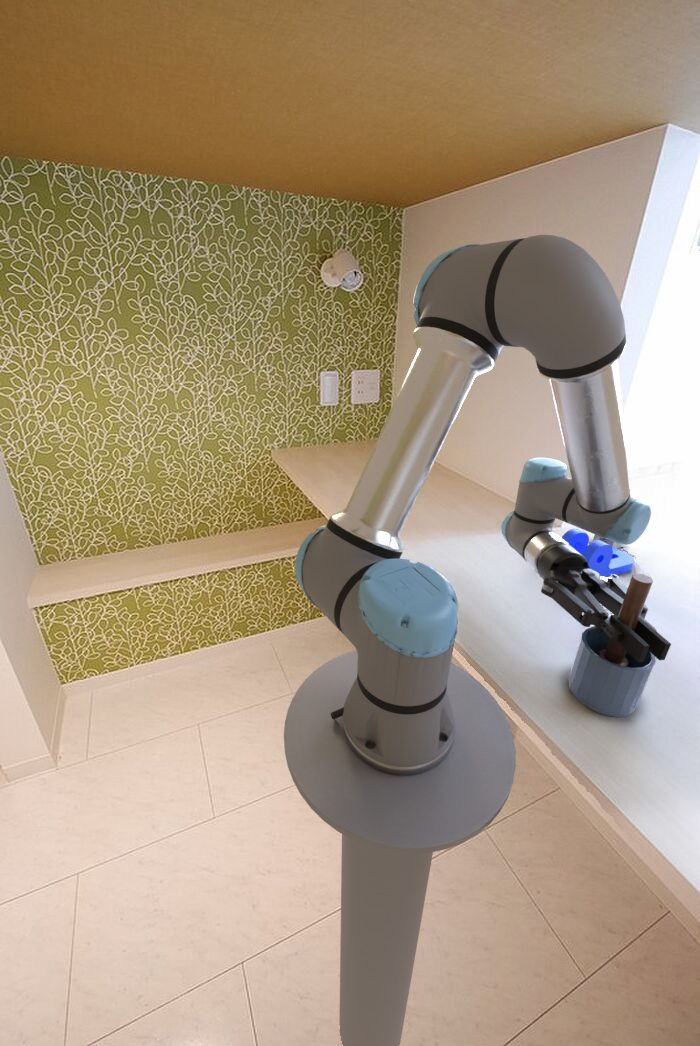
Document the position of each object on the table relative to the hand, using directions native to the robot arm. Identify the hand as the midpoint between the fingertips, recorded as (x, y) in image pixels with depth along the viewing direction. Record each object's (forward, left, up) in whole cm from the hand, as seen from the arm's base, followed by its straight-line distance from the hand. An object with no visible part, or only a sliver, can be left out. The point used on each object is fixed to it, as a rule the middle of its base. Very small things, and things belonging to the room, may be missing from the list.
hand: (654, 652), depth 57 cm
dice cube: (+33, +50, -13) cm, 62 cm away
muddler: (0, +5, -12) cm, 13 cm away
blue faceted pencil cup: (0, +5, -13) cm, 14 cm away
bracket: (+23, +40, -13) cm, 48 cm away
